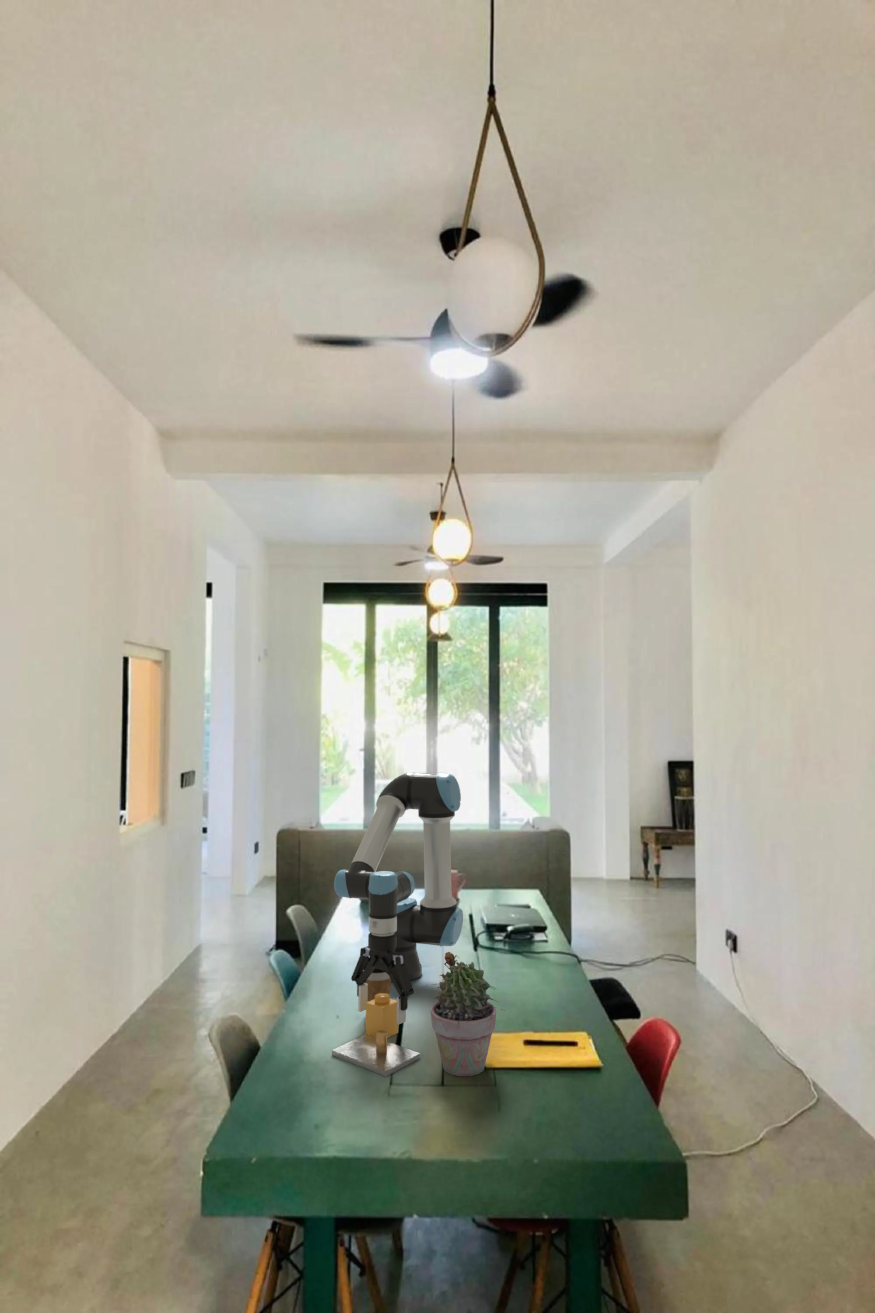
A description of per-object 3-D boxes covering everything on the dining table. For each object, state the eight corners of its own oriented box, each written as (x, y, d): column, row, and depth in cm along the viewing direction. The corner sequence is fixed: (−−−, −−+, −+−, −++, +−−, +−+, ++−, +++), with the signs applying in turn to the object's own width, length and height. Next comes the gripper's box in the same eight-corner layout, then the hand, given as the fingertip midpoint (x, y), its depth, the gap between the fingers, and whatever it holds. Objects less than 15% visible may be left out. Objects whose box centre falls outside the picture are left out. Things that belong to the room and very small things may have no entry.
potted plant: (485, 1095, 165) (484, 977, 167) (411, 1073, 175) (411, 962, 177) (521, 1063, 180) (520, 956, 182) (451, 1044, 190) (450, 943, 192)
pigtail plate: (331, 1055, 184) (332, 1029, 185) (366, 1039, 194) (366, 1014, 194) (386, 1077, 173) (386, 1048, 174) (419, 1058, 183) (419, 1032, 183)
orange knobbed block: (365, 1034, 197) (366, 996, 197) (381, 1027, 201) (381, 990, 202) (382, 1040, 193) (382, 1002, 194) (398, 1032, 198) (398, 995, 198)
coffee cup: (369, 1022, 205) (369, 965, 206) (357, 1011, 212) (358, 956, 213) (397, 1016, 208) (397, 960, 210) (385, 1006, 216) (385, 952, 217)
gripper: (339, 927, 204) (337, 1009, 202) (409, 944, 189) (408, 1032, 186) (358, 922, 210) (357, 1001, 208) (428, 937, 194) (427, 1023, 192)
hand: (381, 1016), depth 197 cm, fingers open, 13 cm apart
